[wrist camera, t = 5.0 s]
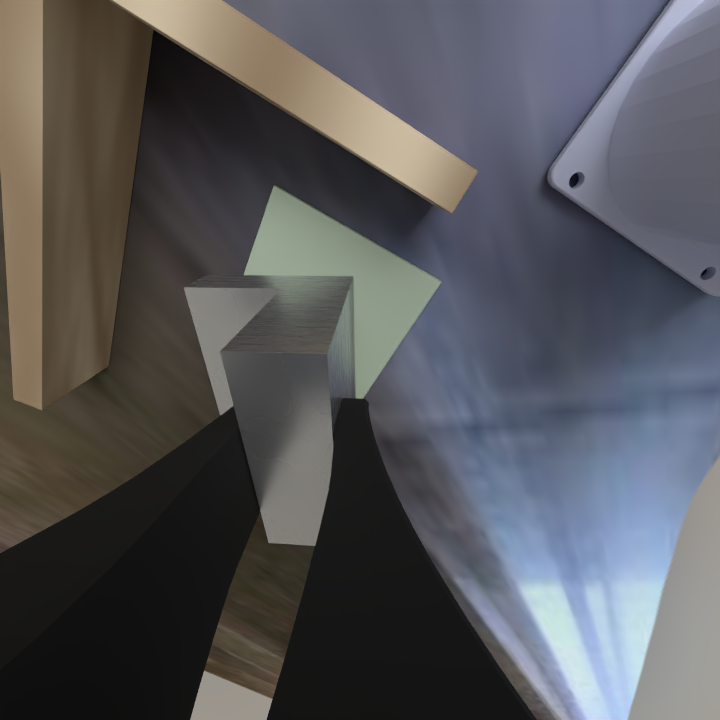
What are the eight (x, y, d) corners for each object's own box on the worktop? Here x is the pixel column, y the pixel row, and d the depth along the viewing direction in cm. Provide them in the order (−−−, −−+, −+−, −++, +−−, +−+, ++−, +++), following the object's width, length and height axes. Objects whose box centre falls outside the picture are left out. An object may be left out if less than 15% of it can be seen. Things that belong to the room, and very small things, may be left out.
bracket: (356, 417, 13) (340, 547, 9) (241, 413, 14) (165, 536, 9) (353, 276, 10) (326, 353, 6) (207, 274, 11) (67, 347, 6)
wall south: (451, 174, 12) (477, 171, 9) (433, 204, 13) (451, 213, 9) (141, -29, 10) (12, -140, 7) (135, 18, 11) (15, -61, 7)
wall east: (156, 7, 10) (42, -80, 7) (108, 365, 18) (41, 410, 14) (120, -17, 10) (-17, -118, 7) (86, 356, 18) (13, 399, 14)
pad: (440, 280, 14) (441, 282, 14) (358, 402, 18) (357, 406, 18) (275, 185, 13) (273, 185, 13) (223, 339, 16) (220, 342, 16)
